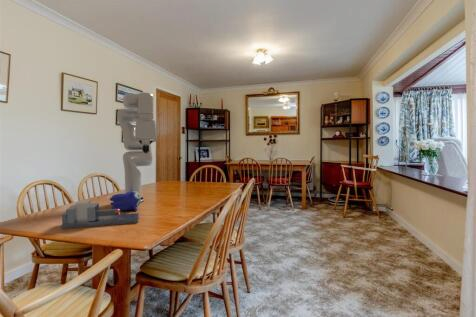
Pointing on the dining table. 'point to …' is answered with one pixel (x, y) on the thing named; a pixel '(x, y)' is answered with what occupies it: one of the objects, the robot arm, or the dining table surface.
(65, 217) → the vise
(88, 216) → the sliding jaw
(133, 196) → the toy
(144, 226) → the dining table surface
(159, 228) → the dining table surface
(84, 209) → the steel block
